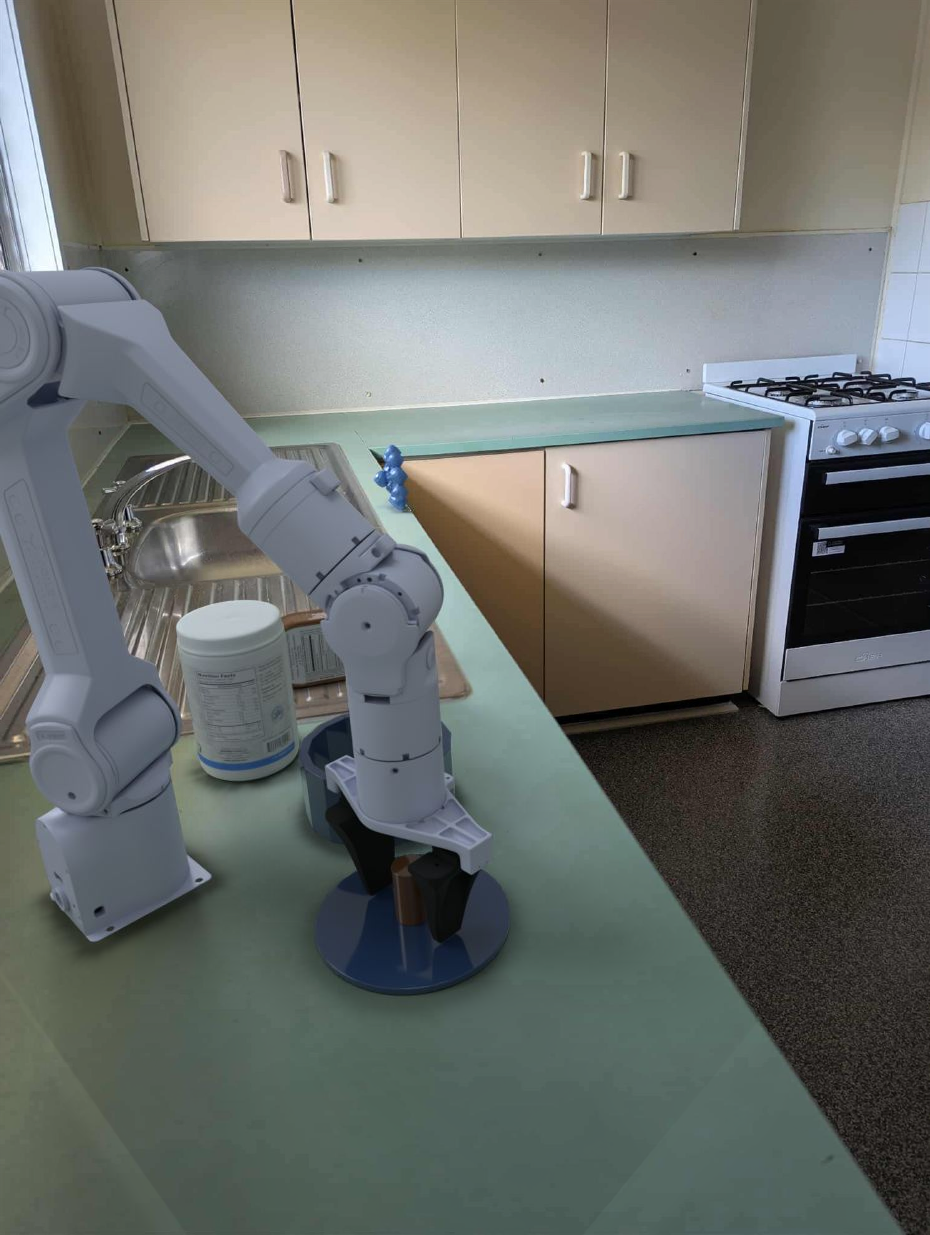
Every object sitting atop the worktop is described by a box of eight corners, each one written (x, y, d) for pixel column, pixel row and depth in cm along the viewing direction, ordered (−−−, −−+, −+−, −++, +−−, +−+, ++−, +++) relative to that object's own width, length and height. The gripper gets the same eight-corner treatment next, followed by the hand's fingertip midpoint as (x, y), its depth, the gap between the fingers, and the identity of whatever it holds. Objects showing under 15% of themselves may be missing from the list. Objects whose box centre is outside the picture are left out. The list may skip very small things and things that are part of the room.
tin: (394, 662, 103) (388, 595, 100) (401, 672, 100) (395, 604, 97) (265, 685, 99) (255, 616, 96) (269, 697, 96) (258, 626, 93)
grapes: (372, 503, 175) (366, 442, 170) (405, 499, 176) (400, 439, 172) (380, 517, 164) (374, 453, 160) (415, 513, 165) (410, 450, 161)
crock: (372, 874, 67) (364, 803, 65) (279, 812, 75) (269, 747, 73) (485, 803, 75) (482, 738, 73) (390, 754, 84) (384, 694, 81)
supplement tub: (209, 738, 88) (185, 602, 83) (304, 729, 89) (286, 594, 83) (191, 790, 79) (162, 642, 74) (297, 781, 80) (276, 632, 74)
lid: (405, 1038, 53) (398, 970, 51) (277, 932, 62) (268, 870, 60) (550, 921, 61) (549, 859, 59) (420, 843, 70) (415, 787, 68)
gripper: (524, 752, 54) (528, 928, 59) (373, 685, 63) (388, 841, 68) (440, 801, 49) (453, 987, 54) (292, 721, 59) (315, 885, 64)
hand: (412, 909), depth 61 cm, fingers open, 6 cm apart
